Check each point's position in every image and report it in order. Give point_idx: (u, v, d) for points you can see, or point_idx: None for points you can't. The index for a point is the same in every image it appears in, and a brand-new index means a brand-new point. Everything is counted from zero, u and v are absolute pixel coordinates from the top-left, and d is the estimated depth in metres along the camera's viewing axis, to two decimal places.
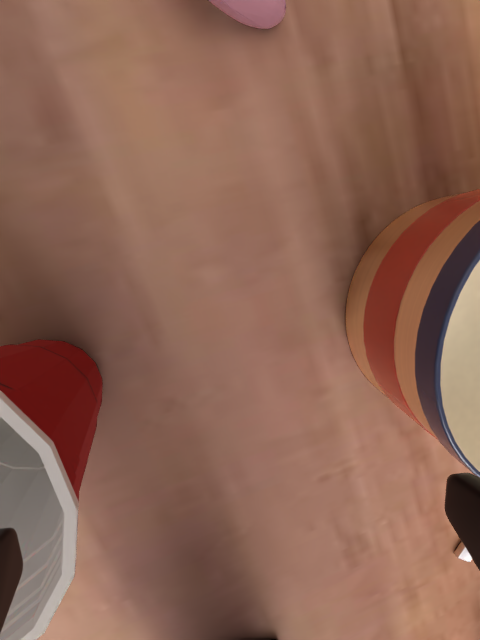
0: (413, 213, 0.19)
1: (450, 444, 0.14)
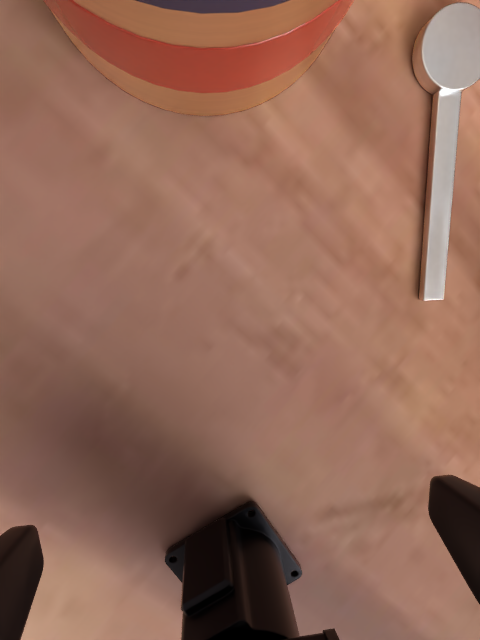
0: None
1: None
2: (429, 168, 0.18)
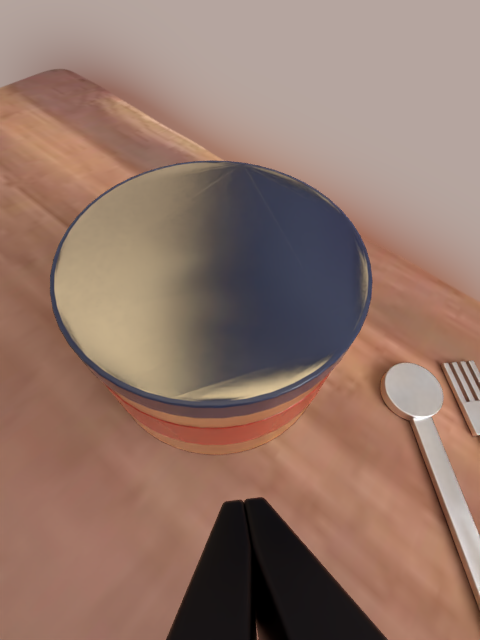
0: None
1: (121, 388, 0.12)
2: (433, 481, 0.19)
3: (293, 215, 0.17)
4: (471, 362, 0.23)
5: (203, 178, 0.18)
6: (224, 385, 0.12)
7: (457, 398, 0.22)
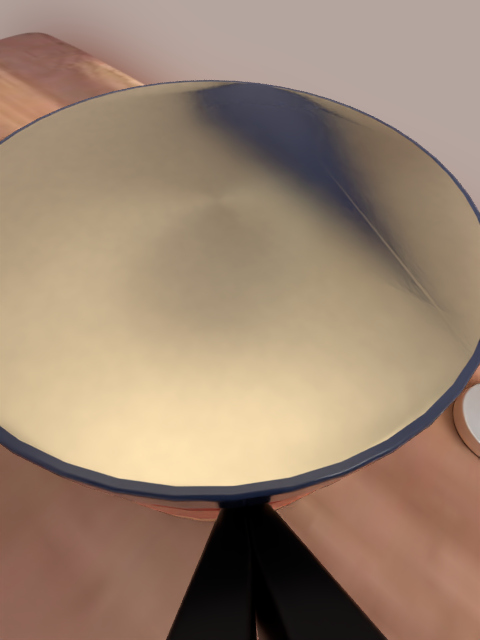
0: None
1: (16, 454, 0.06)
2: None
3: (342, 148, 0.11)
4: None
5: (199, 100, 0.12)
6: (240, 446, 0.06)
7: None
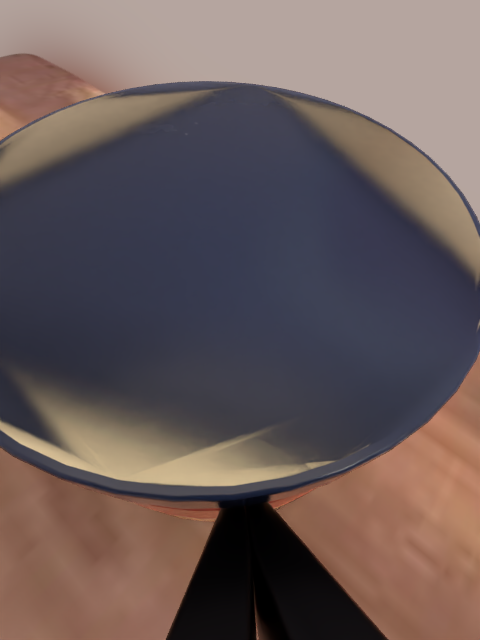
0: None
1: (17, 457, 0.06)
2: None
3: (337, 148, 0.11)
4: None
5: (194, 101, 0.12)
6: (239, 447, 0.06)
7: None
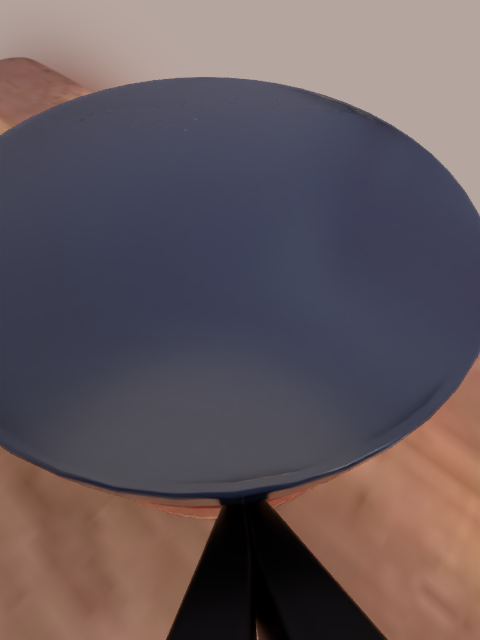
0: None
1: (15, 454, 0.06)
2: None
3: (338, 144, 0.11)
4: None
5: (193, 97, 0.12)
6: (239, 443, 0.06)
7: None
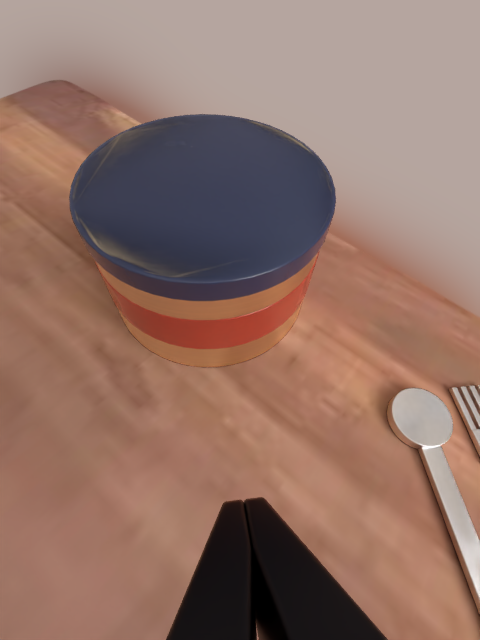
0: None
1: (131, 272, 0.15)
2: (444, 516, 0.18)
3: (271, 154, 0.20)
4: None
5: (195, 127, 0.22)
6: (213, 269, 0.15)
7: (467, 425, 0.21)
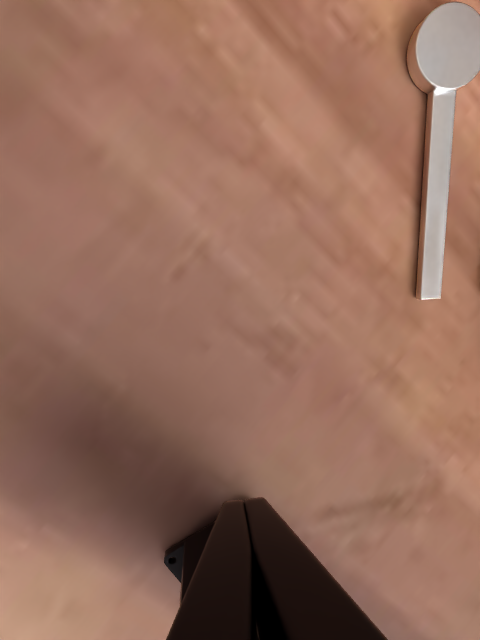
0: None
1: None
2: (425, 167, 0.18)
3: None
4: None
5: None
6: None
7: None
